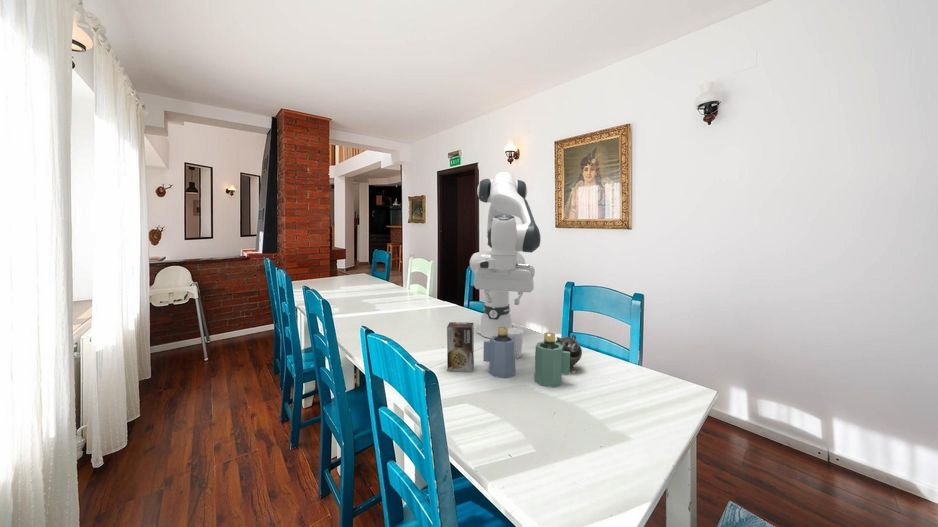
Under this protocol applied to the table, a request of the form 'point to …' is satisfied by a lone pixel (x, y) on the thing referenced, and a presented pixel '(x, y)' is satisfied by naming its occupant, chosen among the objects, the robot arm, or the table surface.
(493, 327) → the robot arm
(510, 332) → the white cup
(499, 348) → the blue pot
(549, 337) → the shiny brass cylinder
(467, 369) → the coffee box
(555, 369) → the green mug
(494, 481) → the table surface
